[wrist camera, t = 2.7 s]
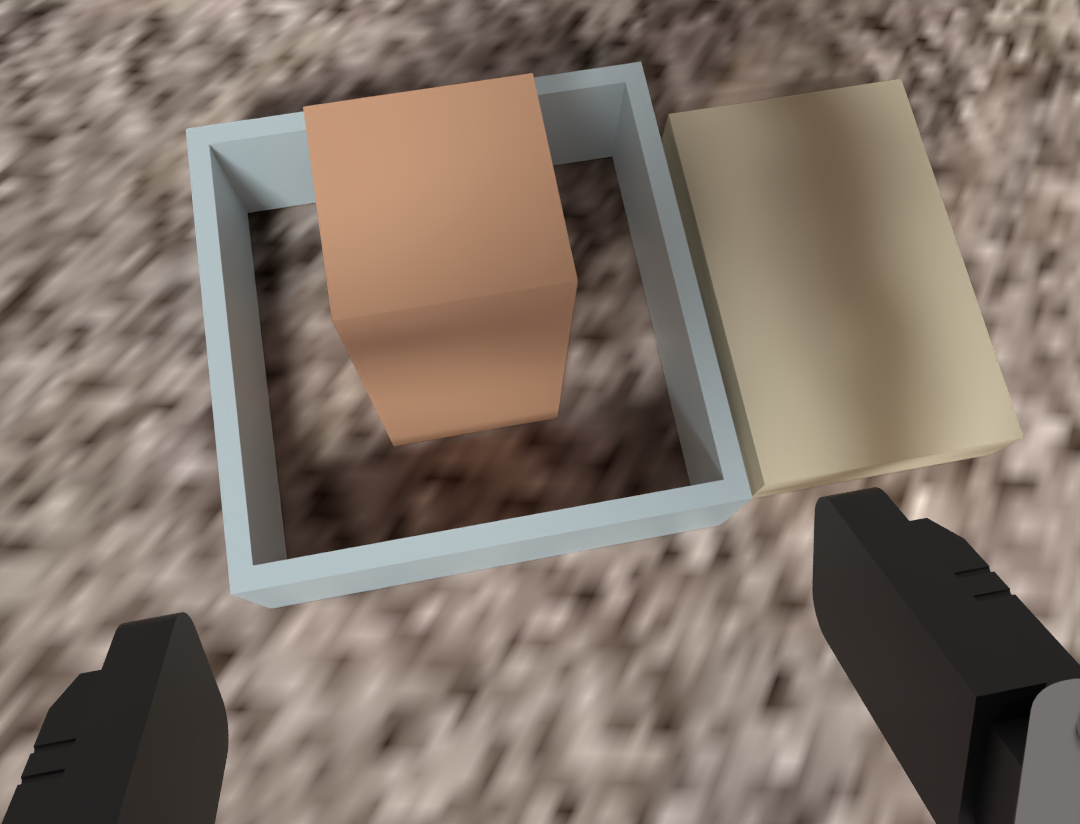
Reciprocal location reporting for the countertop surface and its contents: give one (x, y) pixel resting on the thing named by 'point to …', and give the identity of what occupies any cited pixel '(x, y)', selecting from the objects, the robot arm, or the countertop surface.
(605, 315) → the countertop surface
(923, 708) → the robot arm
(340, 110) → the terracotta box
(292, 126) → the square frame
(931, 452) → the block
